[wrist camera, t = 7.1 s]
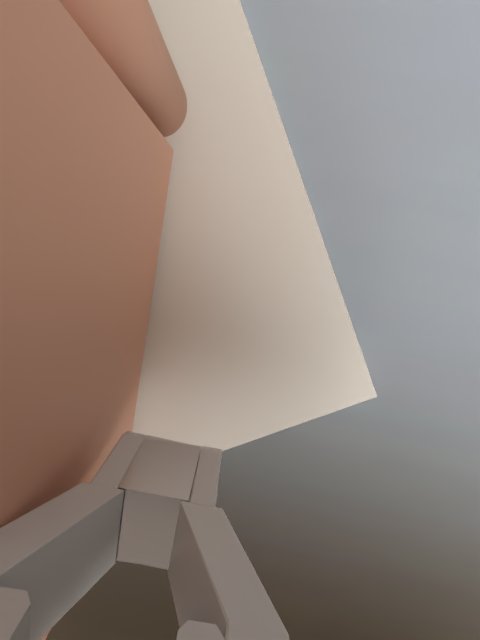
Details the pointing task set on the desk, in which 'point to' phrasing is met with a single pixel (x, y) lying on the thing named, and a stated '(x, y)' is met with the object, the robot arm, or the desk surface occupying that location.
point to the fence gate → (77, 232)
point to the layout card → (238, 258)
